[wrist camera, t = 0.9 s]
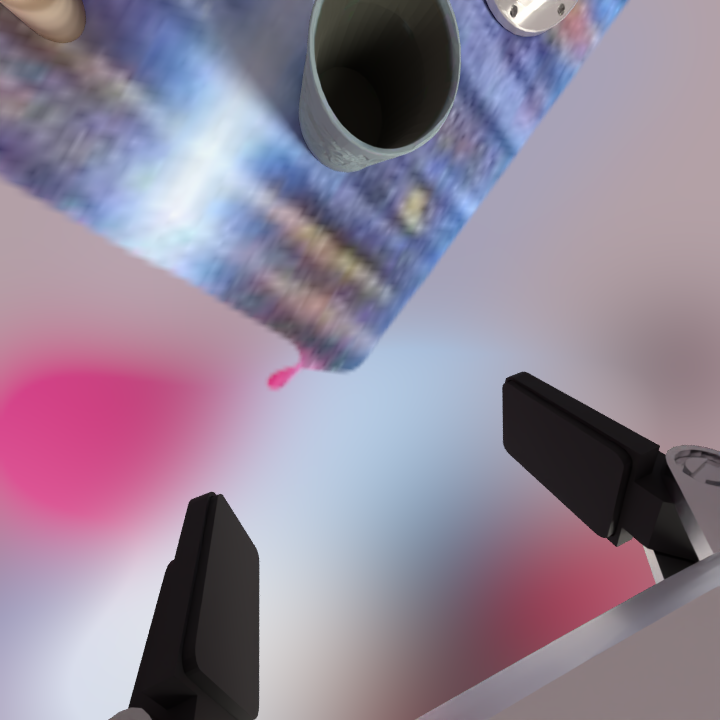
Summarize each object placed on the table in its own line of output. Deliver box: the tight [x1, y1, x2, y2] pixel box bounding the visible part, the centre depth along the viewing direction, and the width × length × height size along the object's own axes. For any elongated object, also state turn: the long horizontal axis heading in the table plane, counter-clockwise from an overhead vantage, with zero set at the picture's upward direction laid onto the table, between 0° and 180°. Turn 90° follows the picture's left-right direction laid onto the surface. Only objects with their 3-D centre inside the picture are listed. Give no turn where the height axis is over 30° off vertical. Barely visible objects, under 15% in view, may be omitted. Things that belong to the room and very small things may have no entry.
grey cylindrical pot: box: [299, 0, 461, 172], centre depth 24 cm, size 10×10×12 cm
